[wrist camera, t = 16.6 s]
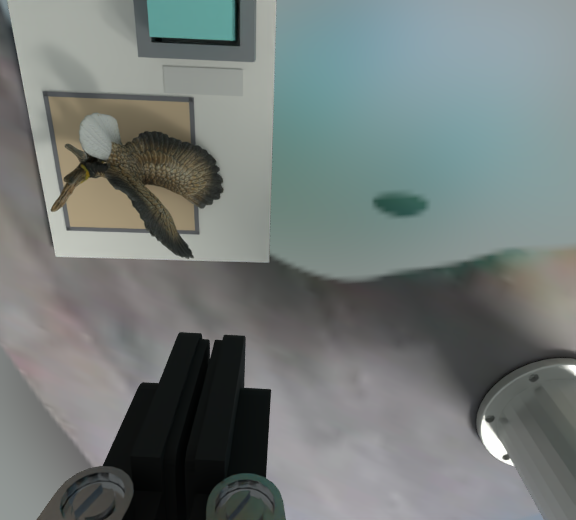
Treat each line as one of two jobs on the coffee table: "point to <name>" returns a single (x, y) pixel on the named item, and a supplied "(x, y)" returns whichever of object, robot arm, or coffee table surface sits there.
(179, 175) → the eagle figurine
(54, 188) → the board
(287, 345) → the coffee table surface
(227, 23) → the button
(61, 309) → the coffee table surface
